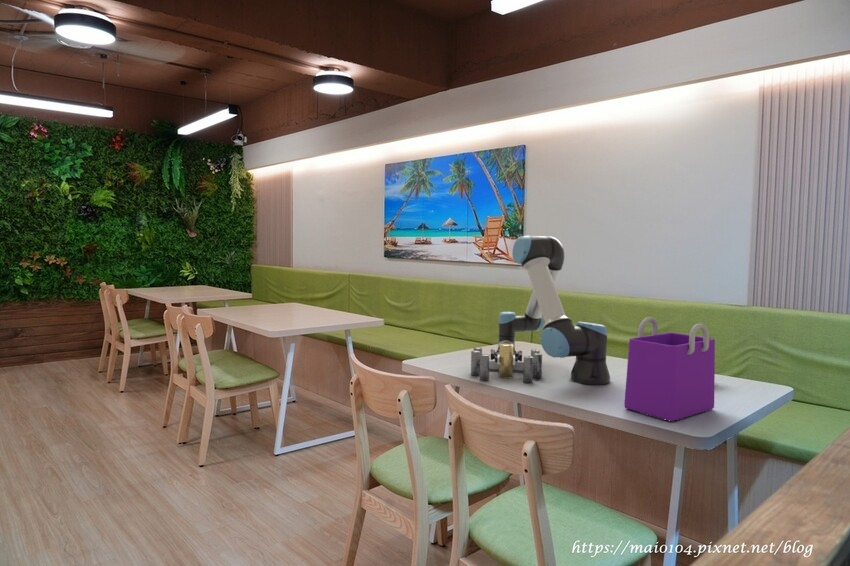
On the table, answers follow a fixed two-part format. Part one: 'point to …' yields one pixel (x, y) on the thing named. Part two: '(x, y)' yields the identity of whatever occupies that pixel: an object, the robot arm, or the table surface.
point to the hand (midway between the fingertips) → (506, 361)
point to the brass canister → (506, 360)
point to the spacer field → (530, 367)
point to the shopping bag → (670, 373)
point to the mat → (516, 368)
